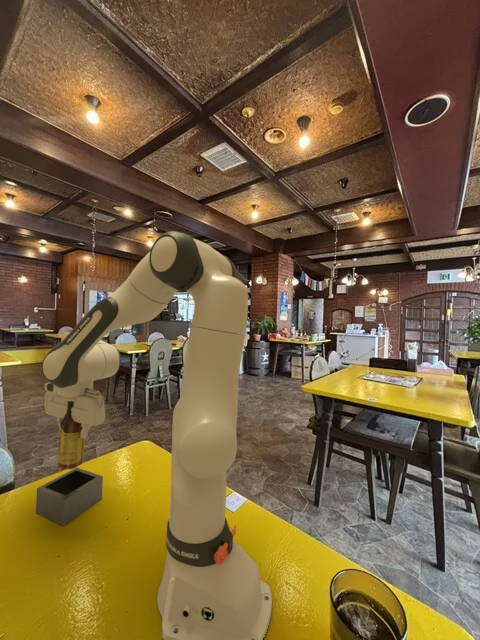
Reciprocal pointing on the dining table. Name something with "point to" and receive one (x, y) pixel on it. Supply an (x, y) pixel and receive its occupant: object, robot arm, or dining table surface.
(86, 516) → the dining table surface
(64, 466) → the sauce bottle
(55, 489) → the condiment sleeve
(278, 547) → the dining table surface
